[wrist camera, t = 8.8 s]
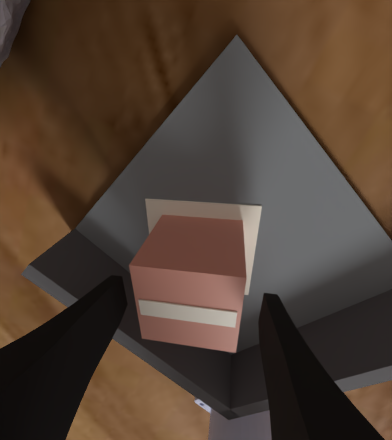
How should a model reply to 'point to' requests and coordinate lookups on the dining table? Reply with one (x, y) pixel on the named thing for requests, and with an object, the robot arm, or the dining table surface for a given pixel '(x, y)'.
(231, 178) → the tray
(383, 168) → the dining table surface
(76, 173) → the dining table surface
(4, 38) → the stone block
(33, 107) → the dining table surface
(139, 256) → the red cube
